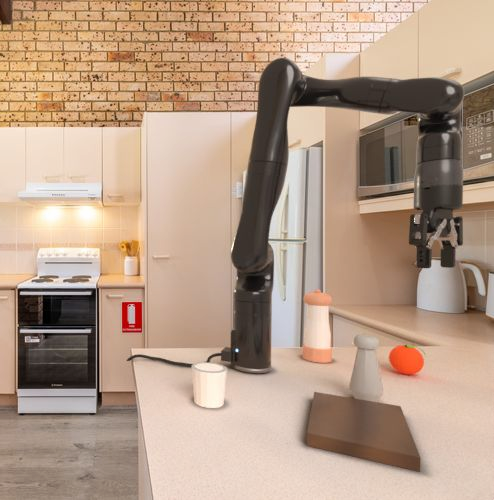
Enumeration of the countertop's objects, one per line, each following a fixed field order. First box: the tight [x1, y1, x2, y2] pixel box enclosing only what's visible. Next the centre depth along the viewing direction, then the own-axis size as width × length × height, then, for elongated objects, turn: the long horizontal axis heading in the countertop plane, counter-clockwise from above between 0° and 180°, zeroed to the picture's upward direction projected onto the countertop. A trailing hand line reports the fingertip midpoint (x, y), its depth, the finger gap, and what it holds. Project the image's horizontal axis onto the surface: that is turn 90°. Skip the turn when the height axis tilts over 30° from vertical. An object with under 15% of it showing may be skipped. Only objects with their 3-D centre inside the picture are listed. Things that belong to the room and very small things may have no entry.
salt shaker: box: [348, 334, 384, 402], centre depth 78 cm, size 6×6×13 cm
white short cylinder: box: [191, 361, 228, 409], centre depth 77 cm, size 7×7×7 cm
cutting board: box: [306, 391, 421, 472], centre depth 65 cm, size 14×20×2 cm
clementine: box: [388, 344, 427, 376], centre depth 95 cm, size 8×7×7 cm
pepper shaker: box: [301, 289, 333, 364], centre depth 108 cm, size 7×7×19 cm
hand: (435, 267), depth 77 cm, fingers open, 8 cm apart
